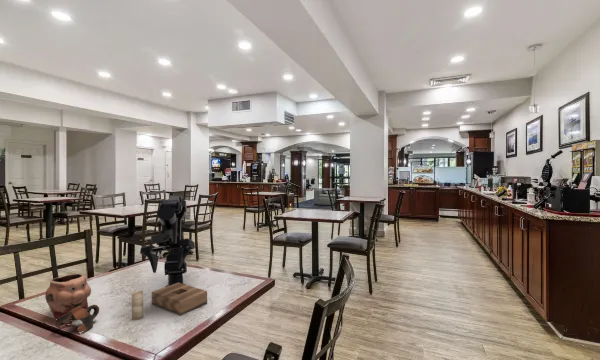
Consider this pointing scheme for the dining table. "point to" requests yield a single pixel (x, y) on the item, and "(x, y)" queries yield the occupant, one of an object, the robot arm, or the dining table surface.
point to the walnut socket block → (179, 298)
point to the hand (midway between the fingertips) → (166, 270)
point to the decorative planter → (67, 294)
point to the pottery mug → (79, 317)
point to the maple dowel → (137, 305)
